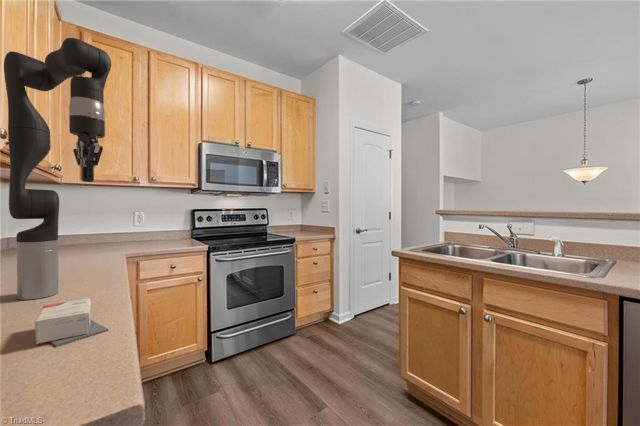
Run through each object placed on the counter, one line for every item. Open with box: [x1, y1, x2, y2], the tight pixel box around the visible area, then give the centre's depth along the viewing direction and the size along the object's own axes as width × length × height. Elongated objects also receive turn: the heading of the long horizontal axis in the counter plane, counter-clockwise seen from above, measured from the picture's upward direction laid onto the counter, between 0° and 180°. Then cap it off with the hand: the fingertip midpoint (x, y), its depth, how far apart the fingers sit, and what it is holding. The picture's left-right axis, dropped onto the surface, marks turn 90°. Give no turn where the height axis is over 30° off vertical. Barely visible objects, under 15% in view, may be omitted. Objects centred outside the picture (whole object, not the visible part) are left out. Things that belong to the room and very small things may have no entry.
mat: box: [48, 319, 109, 348], centre depth 64 cm, size 12×9×1 cm
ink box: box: [34, 297, 92, 345], centre depth 64 cm, size 9×5×12 cm
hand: (87, 181), depth 78 cm, fingers closed
